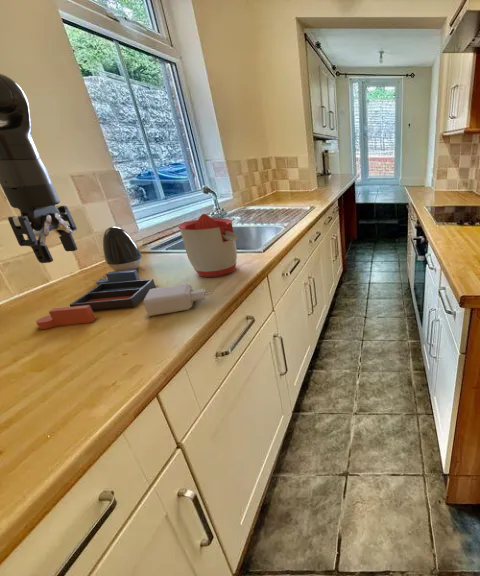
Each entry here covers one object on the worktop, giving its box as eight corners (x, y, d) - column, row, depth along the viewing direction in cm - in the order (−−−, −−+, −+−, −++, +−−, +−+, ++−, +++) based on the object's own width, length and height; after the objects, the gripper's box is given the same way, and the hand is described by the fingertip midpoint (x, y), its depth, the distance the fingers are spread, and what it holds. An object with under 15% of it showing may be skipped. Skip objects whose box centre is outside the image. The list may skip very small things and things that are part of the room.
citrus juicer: (228, 282, 102) (214, 219, 94) (180, 278, 105) (163, 217, 96) (254, 265, 116) (244, 210, 108) (212, 262, 119) (199, 208, 110)
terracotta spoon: (89, 324, 78) (83, 309, 76) (35, 330, 76) (27, 315, 74) (98, 316, 81) (92, 303, 80) (46, 322, 79) (39, 307, 77)
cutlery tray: (73, 313, 83) (69, 304, 82) (103, 291, 96) (100, 283, 95) (133, 307, 86) (130, 299, 85) (155, 286, 99) (153, 279, 98)
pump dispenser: (143, 262, 120) (130, 222, 113) (146, 269, 112) (132, 227, 106) (109, 268, 114) (92, 226, 107) (110, 276, 106) (93, 232, 100)
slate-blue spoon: (136, 284, 100) (132, 273, 98) (95, 288, 98) (90, 276, 96) (141, 280, 103) (137, 268, 102) (102, 283, 101) (97, 271, 99)
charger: (213, 306, 86) (148, 318, 81) (215, 293, 94) (155, 303, 88) (209, 291, 84) (142, 301, 79) (211, 278, 92) (150, 287, 86)
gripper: (31, 180, 72) (61, 248, 79) (-27, 187, 59) (15, 268, 66) (69, 179, 74) (96, 246, 80) (22, 185, 61) (58, 265, 68)
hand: (59, 256), depth 73 cm, fingers open, 8 cm apart
